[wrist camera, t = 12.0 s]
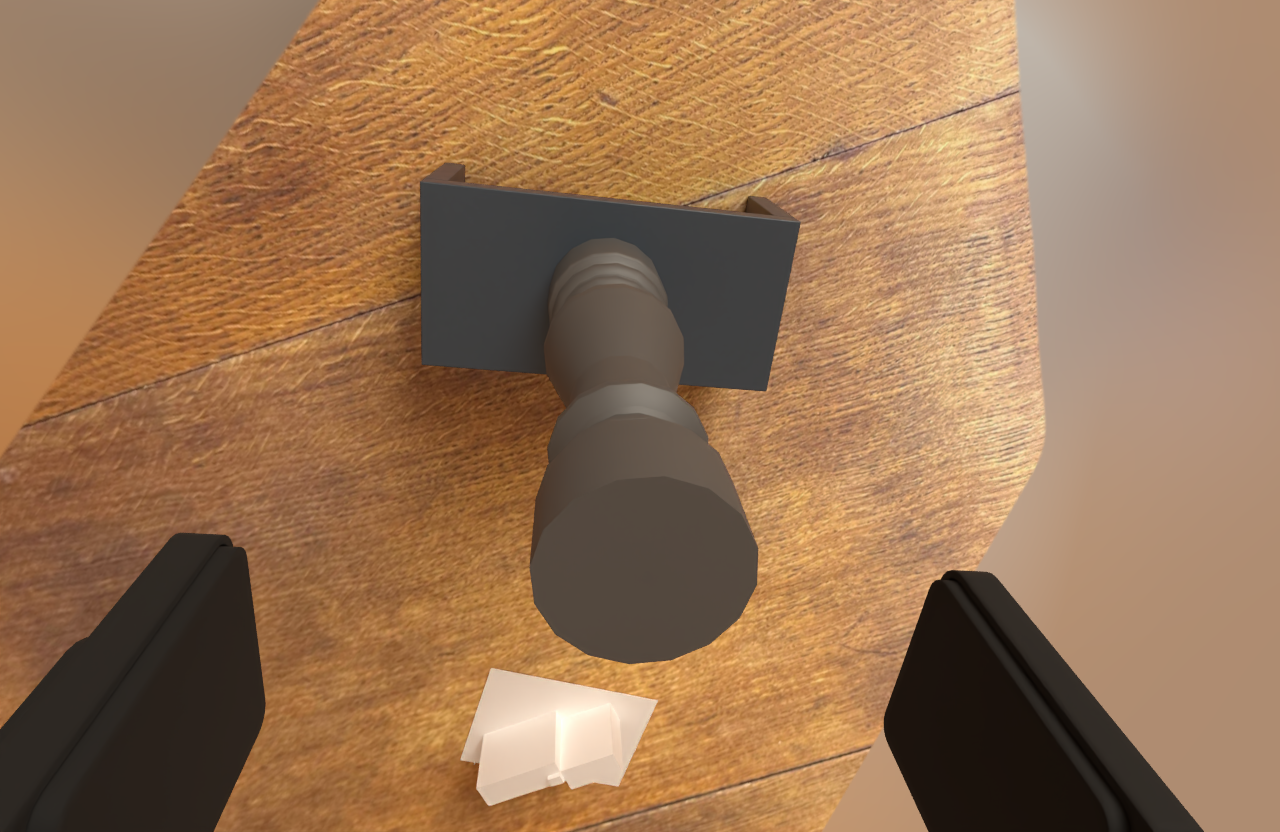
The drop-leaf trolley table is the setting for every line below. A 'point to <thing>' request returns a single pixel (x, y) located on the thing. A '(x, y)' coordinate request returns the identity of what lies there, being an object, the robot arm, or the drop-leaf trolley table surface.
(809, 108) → the drop-leaf trolley table surface
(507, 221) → the shelf
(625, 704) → the napkin holder
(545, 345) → the candle holder
